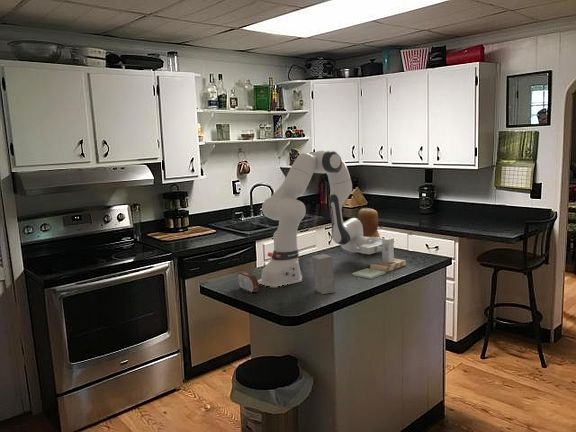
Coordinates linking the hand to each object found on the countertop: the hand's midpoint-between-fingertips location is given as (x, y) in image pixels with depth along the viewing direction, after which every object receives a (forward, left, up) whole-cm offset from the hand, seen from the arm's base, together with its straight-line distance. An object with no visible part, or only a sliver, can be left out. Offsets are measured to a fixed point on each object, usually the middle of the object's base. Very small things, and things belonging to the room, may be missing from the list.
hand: (389, 248), depth 244 cm
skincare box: (-48, 0, -10) cm, 49 cm away
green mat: (-16, +1, -10) cm, 18 cm away
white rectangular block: (0, +1, -7) cm, 7 cm away
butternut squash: (+21, +30, -10) cm, 38 cm away
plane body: (0, +1, -10) cm, 10 cm away
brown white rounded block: (-68, +28, -10) cm, 74 cm away
